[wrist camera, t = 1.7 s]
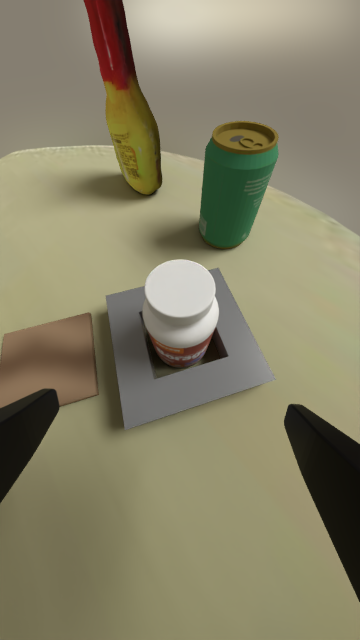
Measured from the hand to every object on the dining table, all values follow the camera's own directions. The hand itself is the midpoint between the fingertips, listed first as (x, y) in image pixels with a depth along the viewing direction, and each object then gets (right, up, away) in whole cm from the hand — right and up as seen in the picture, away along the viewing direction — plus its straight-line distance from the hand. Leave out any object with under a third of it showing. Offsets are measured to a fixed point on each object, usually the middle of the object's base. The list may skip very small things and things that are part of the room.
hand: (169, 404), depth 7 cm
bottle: (-7, +30, +30) cm, 43 cm away
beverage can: (+7, +17, +23) cm, 30 cm away
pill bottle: (+1, +1, +15) cm, 15 cm away
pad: (-14, -2, +14) cm, 20 cm away
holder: (+1, +1, +15) cm, 15 cm away
